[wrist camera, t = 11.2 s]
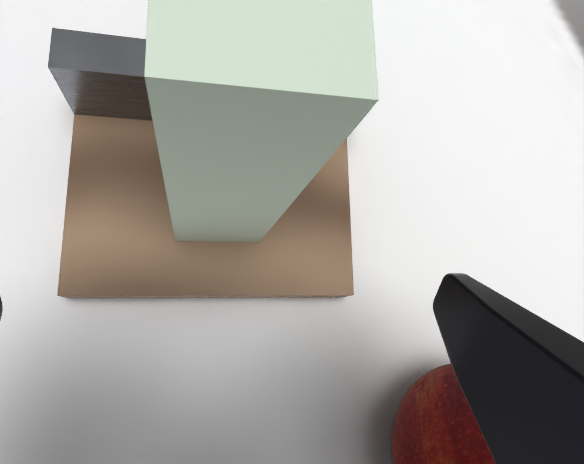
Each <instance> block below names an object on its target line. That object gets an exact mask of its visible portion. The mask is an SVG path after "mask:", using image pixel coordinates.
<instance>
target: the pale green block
mask: <svg viewBox="0 0 584 464" xmlns="http://www.w3.org/2000/svg"><path fill="white" fill-rule="evenodd" d="M144 77H145V83H146V88H147V93H148V99H149V104H150V109H151V115H152V120H153V125H154V131H155V136H156V141H157V147H158V152H159V157H160V163H161V168H162V173H163V179H164V184H165V189H166V195H167V200H168V205H169V211H170V216H171V221H172V227H173V232H174V237H175V241H208V242H257V243H259V242H260V241H261V239H262V238H263V237H264V236H265V235H266V234H267V232H268V231H269V230H270V229H271V228H272V226H273V225H274V224H275V223H276V222H277V220H278V219H279V218H280V217H281V216H282V214H283V213H284V212H285V211H286V210H287V208H288V207H289V206H290V205H291V204H292V203H293V201H294V200H295V199H296V198H297V197H298V195H299V194H300V193H301V192H302V191H303V189H304V188H305V187H306V186H307V185H308V183H309V182H310V181H311V180H312V179H313V178H314V176H315V175H316V174H317V173H318V172H319V170H320V169H321V168H322V167H323V166H324V164H325V163H326V162H327V161H328V160H329V158H330V157H331V156H332V155H333V154H334V153H335V151H336V150H337V149H338V148H339V147H340V145H341V144H342V143H343V142H344V141H345V139H346V138H347V137H348V136H349V135H350V133H351V132H352V131H353V130H354V129H355V127H356V126H357V125H358V124H359V123H360V122H361V120H362V119H363V118H364V117H365V116H366V114H367V113H368V112H369V111H370V110H371V108H372V107H373V106H374V105H375V104H376V102H377V101H378V100H379V99H378V84H377V69H376V54H375V39H374V25H373V10H372V0H148V17H147V36H146V55H145V74H144Z"/></svg>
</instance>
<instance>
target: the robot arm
mask: <svg viewBox="0 0 584 464" xmlns="http://www.w3.org/2000/svg"><path fill="white" fill-rule="evenodd" d="M433 311H434V314H435V317H436V320H437V323H438V326H439V329H440V332H441V335H442V338H443V341H444V344H445V347H446V350H447V353H448V356H449V359H450V362H451V364H452V367H453V370H454V372H455V375H456V377H457V379H458V382H459V384H460V386H461V388H462V391H463V393H464V395H465V397H466V399H467V402H468V404H469V406H470V408H471V410H472V413H473V415H474V417H475V419H476V421H477V424H478V426H479V428H480V430H481V432H482V434H483V437H484V439H485V441H486V443H487V445H488V448H489V450H490V452H491V454H492V456H493V459H494V461H495V463H496V464H584V342H582V341H580V340H579V339H577V338H575V337H574V336H572V335H570V334H568V333H567V332H565V331H563V330H561V329H560V328H558V327H556V326H554V325H553V324H551V323H549V322H548V321H546V320H544V319H542V318H541V317H539V316H537V315H535V314H534V313H532V312H530V311H528V310H527V309H525V308H523V307H522V306H520V305H518V304H516V303H515V302H513V301H511V300H509V299H508V298H506V297H504V296H503V295H501V294H499V293H497V292H496V291H494V290H492V289H490V288H489V287H487V286H485V285H483V284H482V283H480V282H478V281H477V280H475V279H473V278H471V277H470V276H468V275H466V274H462V273H449V274H446V275H445V276H444V278H443V279H442V282H441V284H440V287H439V289H438V291H437V294H436V296H435V299H434V302H433ZM1 316H2V301H1V297H0V319H1Z"/></svg>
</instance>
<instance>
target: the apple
mask: <svg viewBox="0 0 584 464" xmlns="http://www.w3.org/2000/svg"><path fill="white" fill-rule="evenodd" d="M392 459H393V464H496V463H495V461H494V459H493V456H492V454H491V452H490V450H489V448H488V445H487V443H486V441H485V439H484V437H483V434H482V432H481V430H480V428H479V426H478V424H477V421H476V419H475V417H474V415H473V413H472V410H471V408H470V406H469V404H468V402H467V399H466V397H465V395H464V393H463V391H462V388H461V386H460V384H459V382H458V379H457V377H456V375H455V372H454V370H453V367H452V364H447V365H444V366H441V367H438V368H436V369H433V370H431V371H430V372H428V373H427V374H425V375H424V376H422V377H421V378H420V379H419V380H417V381H416V382H415V383H414V384H413V385H412V386H411V388H410V389H409V390H408V392H407V393H406V395H405V396H404V398H403V400H402V402H401V404H400V406H399V409H398V412H397V414H396V418H395V424H394V430H393V436H392Z"/></svg>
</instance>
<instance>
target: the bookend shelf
mask: <svg viewBox="0 0 584 464" xmlns="http://www.w3.org/2000/svg"><path fill="white" fill-rule="evenodd" d="M145 55H146V39H138V38H130V37H122V36H114V35H106V34H98V33H89V32H81V31H73V30H65V29H57V28H52V35H51V44H50V53H49V62H48V68H49V70H50V71H51V73H52V75H53V77H54V79H55V80H56V82H57V84H58V86H59V88H60V89H61V91H62V93H63V95H64V97H65V98H66V100H67V102H68V104H69V106H70V107H71V109H72V111H73V113H74V124H73V135H72V145H71V156H70V167H69V177H68V188H67V199H66V210H65V220H64V231H63V242H62V252H61V263H60V274H59V285H58V295H57V296H62V297H66V298H175V297H345V296H350V295H354V291H353V269H352V246H351V224H350V202H349V180H348V157H347V138H346V139H345V141H344V142H343V143H342V144H341V145H340V147H339V148H338V149H337V150H336V151H335V153H334V154H333V155H332V156H331V157H330V158H329V160H328V161H327V162H326V163H325V164H324V166H323V167H322V168H321V169H320V170H319V172H318V173H317V174H316V175H315V176H314V178H313V179H312V180H311V181H310V182H309V183H308V185H307V186H306V187H305V188H304V189H303V191H302V192H301V193H300V194H299V195H298V197H297V198H296V199H295V200H294V201H293V203H292V204H291V205H290V206H289V207H288V208H287V210H286V211H285V212H284V213H283V214H282V216H281V217H280V218H279V219H278V220H277V222H276V223H275V224H274V225H273V226H272V228H271V229H270V230H269V231H268V232H267V234H266V235H265V236H264V237H263V238H262V239H261V241H260V242H259V243H257V242H208V241H175V237H174V232H173V227H172V221H171V216H170V211H169V205H168V200H167V195H166V189H165V184H164V179H163V173H162V168H161V163H160V157H159V152H158V147H157V141H156V136H155V131H154V125H153V120H152V115H151V109H150V104H149V99H148V93H147V88H146V83H145V77H144V74H145Z"/></svg>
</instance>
